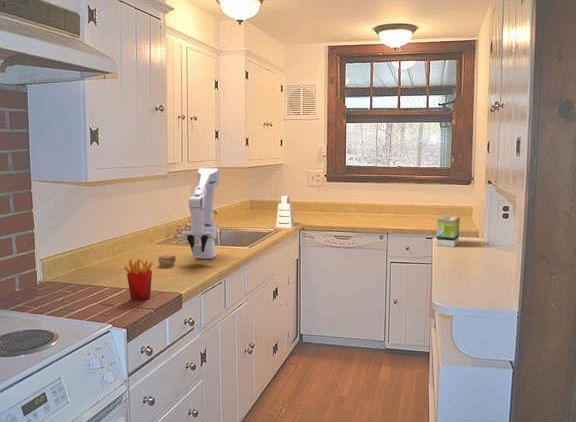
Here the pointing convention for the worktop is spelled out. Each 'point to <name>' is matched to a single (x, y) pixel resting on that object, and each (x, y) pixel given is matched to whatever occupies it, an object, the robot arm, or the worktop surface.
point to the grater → (285, 213)
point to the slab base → (166, 265)
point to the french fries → (139, 280)
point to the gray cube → (197, 251)
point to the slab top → (167, 259)
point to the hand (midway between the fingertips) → (198, 251)
